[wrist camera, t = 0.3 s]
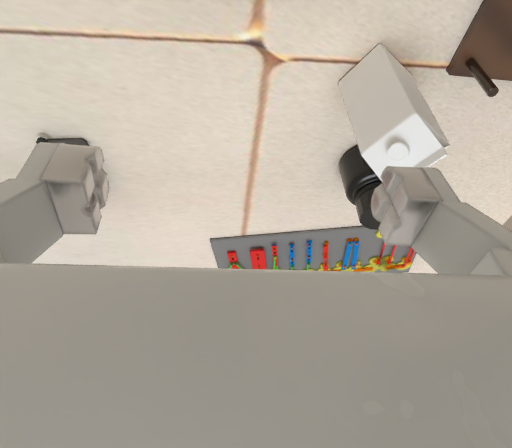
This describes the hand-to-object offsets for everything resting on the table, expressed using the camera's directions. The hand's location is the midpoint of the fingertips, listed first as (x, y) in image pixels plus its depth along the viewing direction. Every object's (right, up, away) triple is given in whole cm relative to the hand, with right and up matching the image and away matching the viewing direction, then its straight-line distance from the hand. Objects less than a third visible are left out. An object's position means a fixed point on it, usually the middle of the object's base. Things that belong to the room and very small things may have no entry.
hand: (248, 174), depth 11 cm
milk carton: (+16, +19, +41) cm, 48 cm away
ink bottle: (+19, +9, +53) cm, 57 cm away
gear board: (+14, -8, +75) cm, 77 cm away
